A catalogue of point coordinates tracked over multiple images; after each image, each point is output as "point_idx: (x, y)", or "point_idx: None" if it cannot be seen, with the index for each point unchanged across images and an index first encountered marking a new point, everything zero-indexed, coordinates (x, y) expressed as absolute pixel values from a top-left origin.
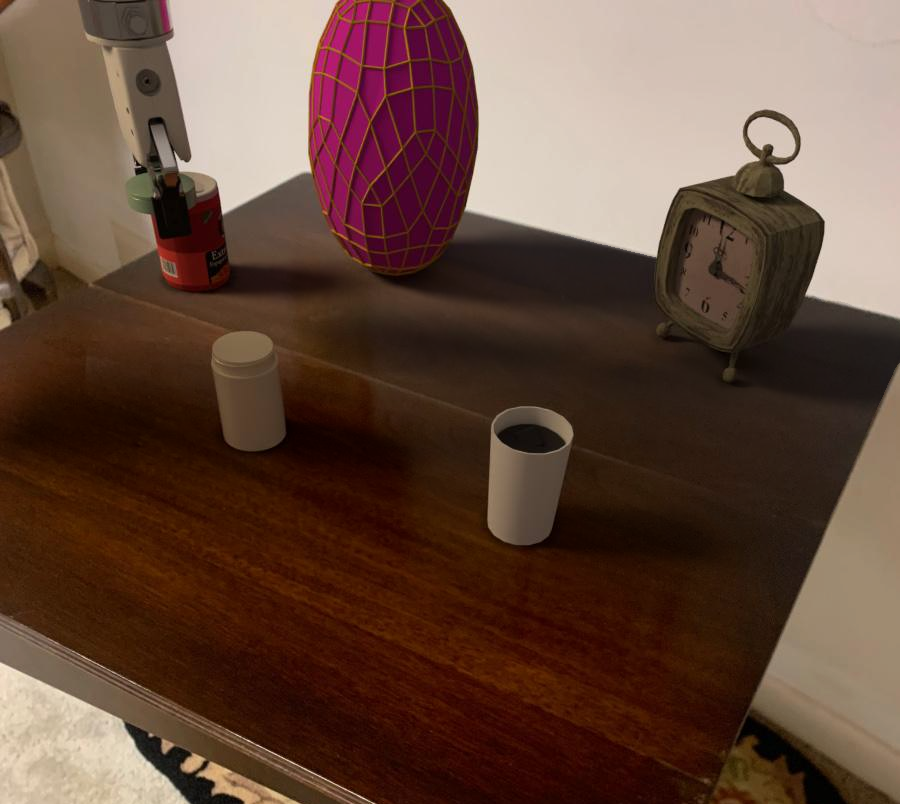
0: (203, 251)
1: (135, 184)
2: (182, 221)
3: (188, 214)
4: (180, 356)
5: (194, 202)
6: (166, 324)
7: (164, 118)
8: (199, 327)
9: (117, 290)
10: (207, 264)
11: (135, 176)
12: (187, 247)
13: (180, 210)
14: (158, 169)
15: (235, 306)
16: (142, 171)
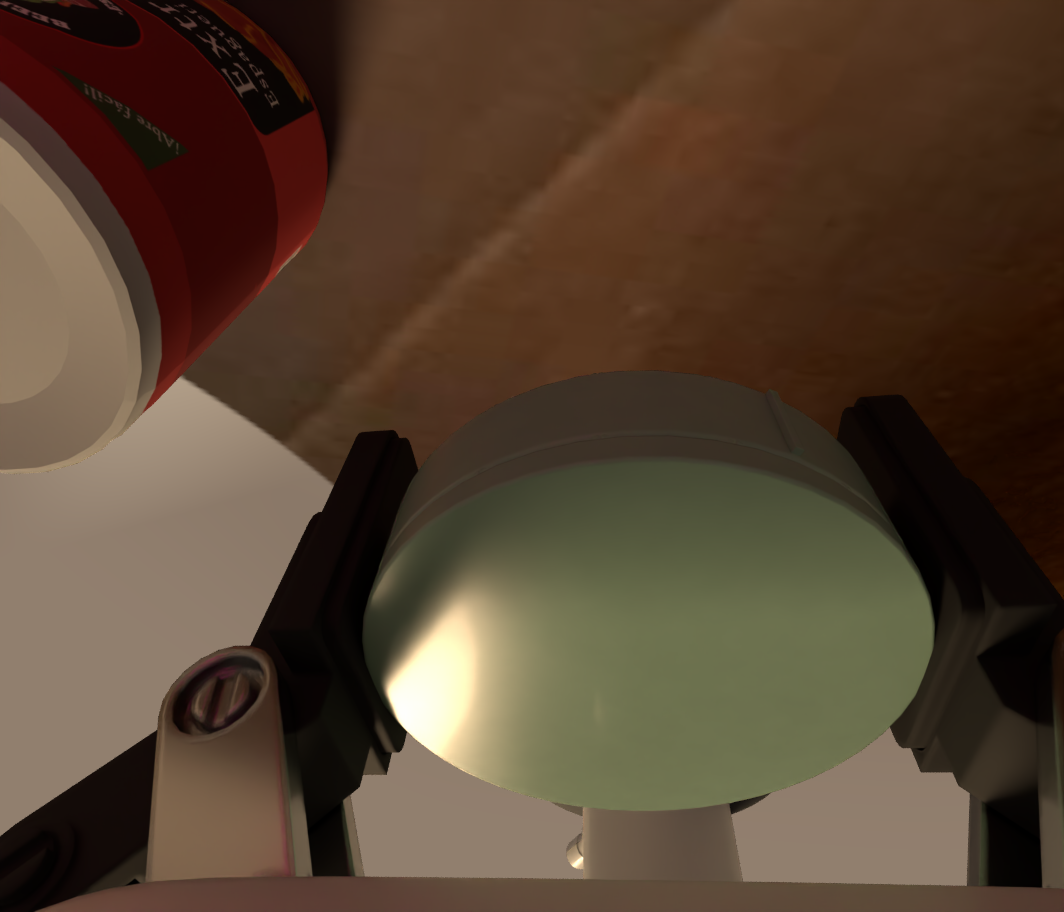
0: (259, 145)
1: (597, 775)
2: (986, 506)
3: (963, 477)
4: (768, 285)
5: (798, 418)
6: (547, 300)
7: None
8: (600, 194)
9: (305, 408)
10: (281, 121)
11: (458, 762)
12: (267, 230)
13: (1035, 569)
14: (355, 665)
15: (466, 8)
16: (387, 736)
